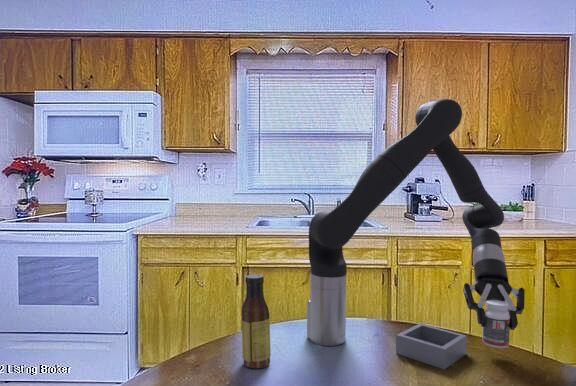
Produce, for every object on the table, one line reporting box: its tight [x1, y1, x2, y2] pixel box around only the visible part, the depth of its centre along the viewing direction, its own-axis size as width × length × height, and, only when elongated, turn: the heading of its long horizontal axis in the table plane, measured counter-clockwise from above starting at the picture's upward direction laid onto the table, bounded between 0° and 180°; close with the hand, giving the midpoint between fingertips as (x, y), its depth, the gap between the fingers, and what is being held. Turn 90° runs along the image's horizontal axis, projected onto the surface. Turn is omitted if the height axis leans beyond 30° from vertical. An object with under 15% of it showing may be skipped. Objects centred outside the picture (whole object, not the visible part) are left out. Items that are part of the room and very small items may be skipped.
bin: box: [395, 322, 468, 370], centre depth 102 cm, size 12×12×4 cm
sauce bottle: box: [241, 273, 272, 370], centre depth 95 cm, size 6×6×20 cm
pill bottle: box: [481, 300, 511, 349], centre depth 101 cm, size 6×6×10 cm
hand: (498, 326), depth 99 cm, fingers closed on pill bottle, 5 cm apart
